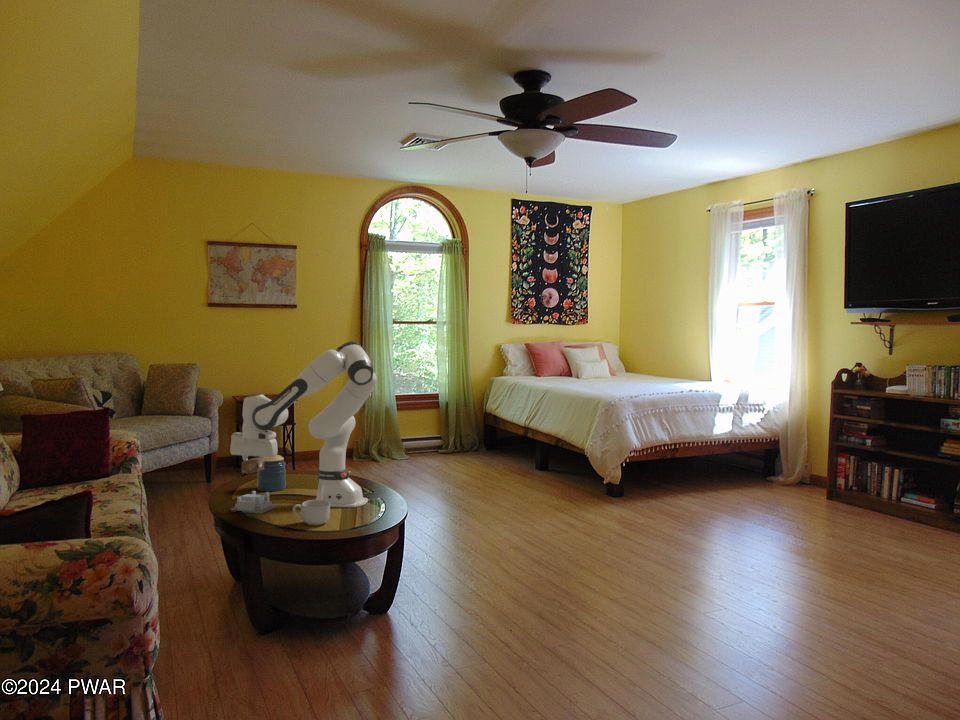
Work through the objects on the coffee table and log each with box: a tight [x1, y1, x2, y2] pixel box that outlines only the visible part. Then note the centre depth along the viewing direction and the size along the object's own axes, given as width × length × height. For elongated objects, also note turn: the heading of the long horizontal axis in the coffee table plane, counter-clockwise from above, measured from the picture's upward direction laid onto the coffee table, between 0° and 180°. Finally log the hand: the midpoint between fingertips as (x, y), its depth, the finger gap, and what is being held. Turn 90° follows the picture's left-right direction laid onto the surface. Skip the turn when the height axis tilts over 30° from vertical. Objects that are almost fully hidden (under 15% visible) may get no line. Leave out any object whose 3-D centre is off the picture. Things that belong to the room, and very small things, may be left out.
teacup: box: [292, 499, 331, 526], centre depth 256 cm, size 14×11×8 cm
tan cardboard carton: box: [241, 457, 264, 474], centre depth 274 cm, size 4×10×4 cm, turn 166°
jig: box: [229, 490, 277, 515], centre depth 275 cm, size 14×12×6 cm
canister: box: [256, 454, 287, 492], centre depth 312 cm, size 13×13×18 cm
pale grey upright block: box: [240, 493, 265, 505], centre depth 275 cm, size 8×4×4 cm, turn 77°
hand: (253, 466), depth 275 cm, fingers closed on tan cardboard carton, 4 cm apart
